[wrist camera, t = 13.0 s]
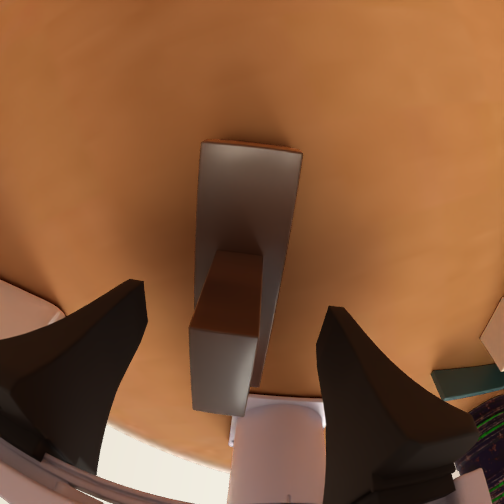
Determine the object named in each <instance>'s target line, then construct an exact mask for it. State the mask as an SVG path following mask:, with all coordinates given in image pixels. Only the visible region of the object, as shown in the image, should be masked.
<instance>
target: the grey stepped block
mask: <svg viewBox="0 0 504 504" xmlns="http://www.w3.org/2000/svg"><path fill="white" fill-rule="evenodd" d="M302 159H303V153H302V152H301V151H300V150H299V149H293V148H291V147H286V146H279V145H271V144H264V143H255V142H246V141H237V140H226V139H221V140H214V139H207V140H204V141H202V142H201V146H200V159H199V174H198V191H197V210H196V234H195V272H194V314H193V317H192V319H191V322H190V325H189V354H190V375H191V392H192V407H193V410H196V411H202V412H208V413H215V414H222V415H229V416H237V417H244V416H245V411H246V406H247V400H248V395H249V390H250V387H259V386H260V382H261V377H262V373H263V368H264V364H265V359H266V355H267V350H268V345H269V340H270V336H271V331H272V326H273V321H274V316H275V311H276V306H277V301H278V296H279V291H280V286H281V281H282V275H283V270H284V265H285V259H286V254H287V248H288V243H289V237H290V232H291V226H292V220H293V214H294V208H295V202H296V196H297V190H298V184H299V178H300V172H301V165H302Z"/></svg>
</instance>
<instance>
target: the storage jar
mask: <svg viewBox="0 0 504 504" xmlns="http://www.w3.org/2000/svg"><path fill="white" fill-rule="evenodd" d="M469 414H471V415H472V417H473V419H474V421H475V424H476V426H477V429H478V431H479V434H480V436H479V439H478V441H477V442H476V444H475V445H474V446H473V447H472V448H471V449H470V450H469V451H467V452H466V453H465V454H464V455H463V456H461V457H460V458H459V459H458V460H456V461H455V465H456V469H457V470H458V471H459V473H460V476H461V475H464V474H466V473H469V472H472V471H474V470H477V469H479V468H482V470H483V473H484V476H485V479H486V483H487V486H488V490H489V493H490V497H491V501H492V504H504V395H500V396H497V397H494V398H492V399H490V400H488V401H486V402H484V403H483V404H481V405H479V406H478V407H476V408H475V409H473V410H472V411H471V412H469Z"/></svg>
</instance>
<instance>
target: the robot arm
mask: <svg viewBox="0 0 504 504" xmlns="http://www.w3.org/2000/svg"><path fill="white" fill-rule="evenodd" d="M147 323H148V318H147V310H146V301H145V291H144V281H139V280H133V279H129V280H127V281H125V282H123V283H122V284H120V285H118V286H117V287H115V288H114V289H112V290H110V291H109V292H107V293H106V294H104V295H103V296H101V297H99V298H98V299H96V300H95V301H93V302H91V303H90V304H88V305H86V306H84V307H83V308H81V309H79V310H77V311H76V312H74V313H72V314H70V315H68V316H66V317H64V318H62V319H60V320H58V321H56V322H54V323H52V324H49V325H47V326H44V327H41V328H39V329H36V330H33V331H31V332H28V333H25V334H21V335H18V336H14V337H10V338H6V339H1V340H0V497H2V498H3V499H4V500H6V501H7V502H8V503H9V504H103V502H101V501H99V500H96V499H94V498H92V497H90V496H88V495H86V494H84V493H82V492H80V491H83V492H85V493H87V494H90V495H92V496H94V497H97V498H100V499H102V500H104V501H107V502H110V503H113V504H193V503H188V502H183V501H178V500H173V499H169V498H165V497H161V496H156V495H153V494H149V493H145V492H142V491H139V490H135V489H132V488H129V487H125V486H122V485H120V484H117V483H114V482H111V481H108V480H105V479H103V478H100V477H98V476H96V475H97V467H98V461H99V455H100V449H101V444H102V440H103V435H104V431H105V427H106V424H107V420H108V416H109V413H110V410H111V407H112V403H113V400H114V397H115V394H116V392H117V389H118V387H119V385H120V382H121V380H122V378H123V376H124V374H125V372H126V370H127V368H128V366H129V364H130V362H131V360H132V358H133V356H134V354H135V352H136V350H137V348H138V346H139V344H140V342H141V340H142V337H143V334H144V331H145V329H146V326H147ZM316 357H317V370H318V376H319V382H320V388H321V394H322V399H320V398H296V397H281V396H269V395H258V394H249V395H248V400H247V406H246V411H245V416H244V417H237V416H232V421H231V429H230V436H229V446H231V447H233V455H232V464H231V473H230V481H229V490H228V498H227V504H492V501H491V497H490V493H489V490H488V486H487V483H486V479H485V476H484V473H483V470H482V468H479V469H477V470H474V471H472V472H469V473H466V474H464V475H461V476H459V477H457V478H455V479H454V480H453V478H452V474H451V473H453V472H455V470H456V468H455V465H454V462H455V461H456V460H458V459H459V458H460V457H461V456H463V455H464V454H465V453H466V452H467V451H469V450H470V449H471V448H472V447H473V446H474V445H475V444H476V442H477V441H478V439H479V436H480V434H479V431H478V429H477V426H476V424H475V421H474V419H473V417H472V415H471V414H469V413H467V412H465V411H462V410H460V409H458V408H456V407H454V406H452V405H450V404H448V403H446V402H445V401H443V400H441V399H440V398H438V397H436V396H435V395H433V394H432V393H430V392H429V391H427V390H426V389H424V388H423V387H422V386H420V385H419V384H417V383H416V382H415V381H413V380H412V379H411V378H410V377H408V376H407V375H406V374H405V373H404V372H403V371H401V370H400V369H399V368H398V367H397V366H396V365H395V364H394V363H393V362H392V361H391V360H390V359H389V358H388V357H387V356H386V355H385V354H384V353H383V352H382V351H381V350H380V349H379V348H378V347H377V346H376V345H375V344H374V343H373V341H372V340H371V339H370V338H369V337H368V336H367V334H366V333H365V332H364V331H363V330H362V328H361V327H360V326H359V325H358V324H357V322H356V321H355V320H354V319H353V318H352V316H351V315H350V314H349V313H348V312H347V310H346V309H345V308H344V307H335V306H329V307H328V310H327V313H326V316H325V319H324V322H323V325H322V328H321V331H320V334H319V337H318V340H317V343H316ZM325 426H326V455H325V444H324V434H323V429H324V427H325ZM75 488H76V489H78V490H80V491H78V490H76V489H75Z"/></svg>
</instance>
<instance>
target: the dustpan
mask: <svg viewBox="0 0 504 504" xmlns="http://www.w3.org/2000/svg"><path fill="white" fill-rule="evenodd" d="M431 376H432V378H433V381H434V383H435V385H436V388H437V390H438V392H439V395H440V397H441V399H442V400H443V401H449V400H455V399H461V398H466V397H471V396H476V395H481V394H485V393H489V392H494V391H498V390H502V389H504V372H501V371H500V370H499V368H498V366H497V365H496V364H491V365H484V366H476V367H468V368H459V369H448V370H436V371H433V372H432V373H431Z"/></svg>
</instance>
